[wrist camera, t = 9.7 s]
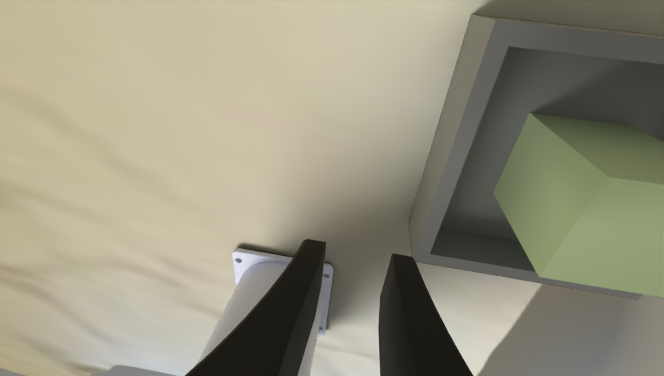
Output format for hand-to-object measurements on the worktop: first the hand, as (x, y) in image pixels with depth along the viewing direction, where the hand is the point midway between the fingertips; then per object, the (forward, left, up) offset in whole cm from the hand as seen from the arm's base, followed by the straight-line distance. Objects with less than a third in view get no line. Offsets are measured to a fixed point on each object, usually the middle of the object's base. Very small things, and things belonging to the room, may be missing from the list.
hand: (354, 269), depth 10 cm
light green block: (+1, -10, -8) cm, 13 cm away
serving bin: (+1, -10, -9) cm, 13 cm away
